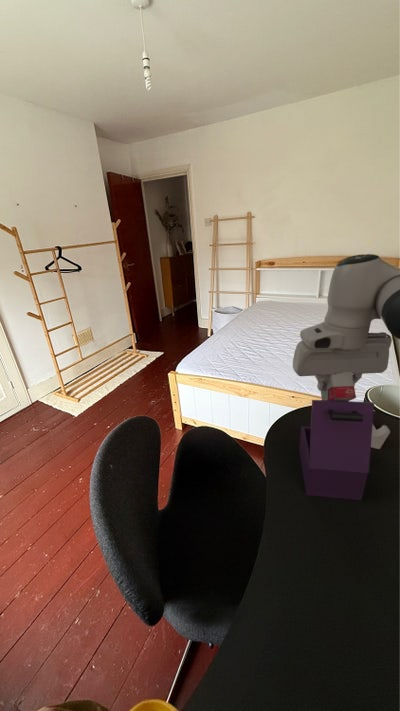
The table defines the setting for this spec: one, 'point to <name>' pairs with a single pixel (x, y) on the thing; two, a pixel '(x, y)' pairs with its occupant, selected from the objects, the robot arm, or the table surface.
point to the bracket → (379, 436)
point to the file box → (328, 476)
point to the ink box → (339, 387)
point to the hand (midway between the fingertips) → (334, 388)
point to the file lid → (341, 435)
